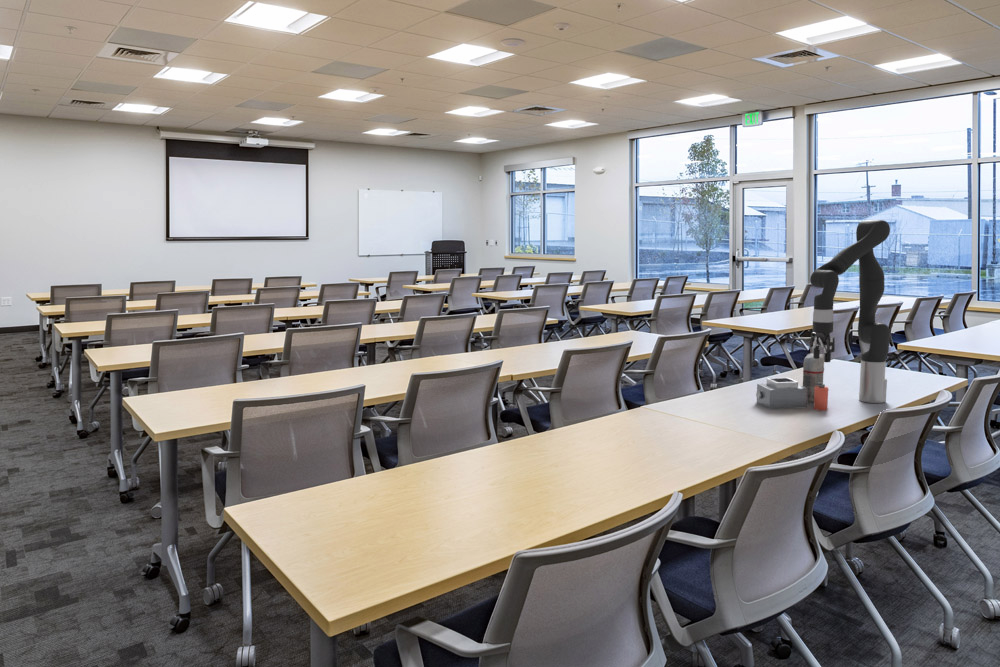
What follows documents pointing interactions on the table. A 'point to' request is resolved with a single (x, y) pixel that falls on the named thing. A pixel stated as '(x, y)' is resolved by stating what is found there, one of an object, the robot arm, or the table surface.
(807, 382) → the spray can
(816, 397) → the oil can
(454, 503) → the table surface
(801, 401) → the gearbox
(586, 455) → the table surface
